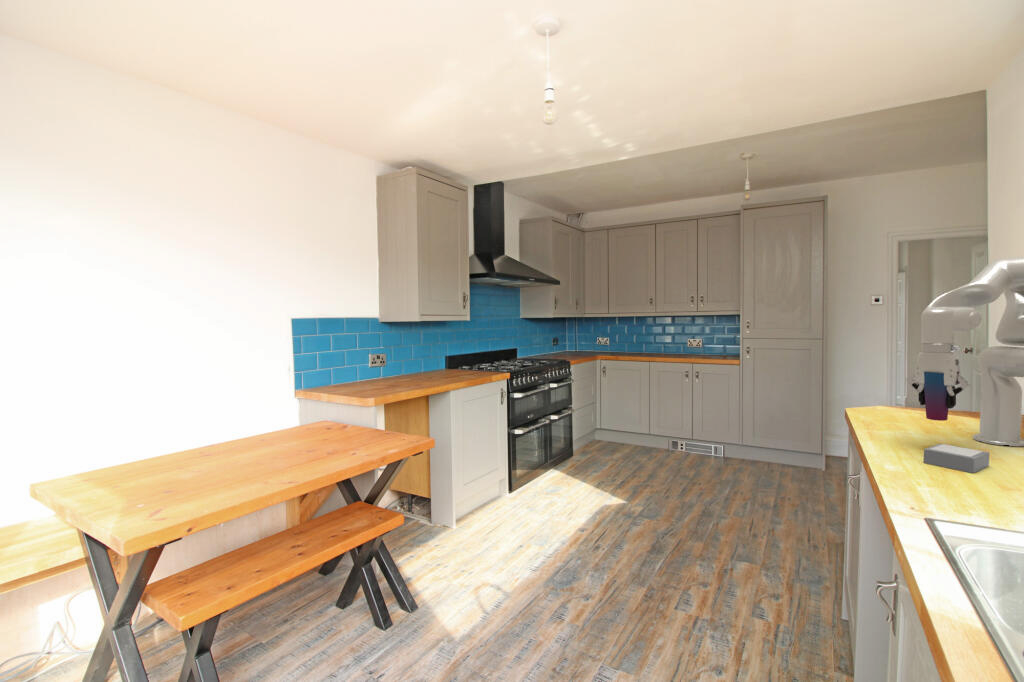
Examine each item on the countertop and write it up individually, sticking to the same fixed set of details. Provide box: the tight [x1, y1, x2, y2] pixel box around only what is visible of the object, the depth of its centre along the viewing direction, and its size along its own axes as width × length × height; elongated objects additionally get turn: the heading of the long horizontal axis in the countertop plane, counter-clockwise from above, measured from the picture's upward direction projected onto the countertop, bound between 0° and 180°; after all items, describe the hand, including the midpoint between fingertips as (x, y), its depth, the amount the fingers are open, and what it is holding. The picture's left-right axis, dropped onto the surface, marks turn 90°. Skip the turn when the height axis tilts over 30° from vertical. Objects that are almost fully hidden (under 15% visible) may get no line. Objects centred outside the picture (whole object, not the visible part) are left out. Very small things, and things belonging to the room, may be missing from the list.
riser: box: [922, 443, 990, 474], centre depth 139 cm, size 11×11×4 cm
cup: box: [924, 371, 949, 422], centre depth 152 cm, size 7×7×15 cm
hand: (936, 405), depth 152 cm, fingers closed on cup, 6 cm apart
